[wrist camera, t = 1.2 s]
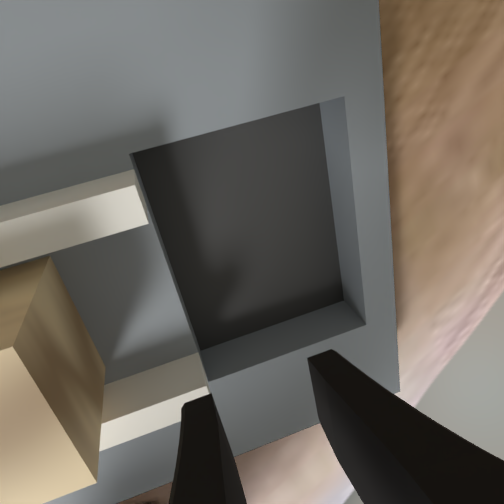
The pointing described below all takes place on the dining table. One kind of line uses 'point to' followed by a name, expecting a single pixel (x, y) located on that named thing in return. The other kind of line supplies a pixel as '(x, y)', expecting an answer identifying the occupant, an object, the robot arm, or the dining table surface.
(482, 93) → the dining table surface
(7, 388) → the maple block
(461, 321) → the dining table surface
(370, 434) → the robot arm
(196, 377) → the trap deck
